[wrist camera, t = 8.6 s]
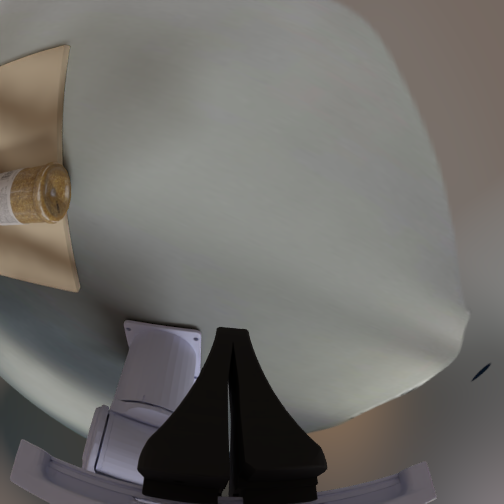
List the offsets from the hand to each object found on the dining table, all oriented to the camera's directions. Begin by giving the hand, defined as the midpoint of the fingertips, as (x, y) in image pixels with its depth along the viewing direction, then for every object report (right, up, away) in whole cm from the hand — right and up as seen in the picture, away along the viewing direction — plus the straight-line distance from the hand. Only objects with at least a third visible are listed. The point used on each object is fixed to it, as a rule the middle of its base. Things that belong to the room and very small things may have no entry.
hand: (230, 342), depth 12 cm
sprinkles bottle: (-12, +8, +3) cm, 15 cm away
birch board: (-23, +11, +5) cm, 26 cm away
